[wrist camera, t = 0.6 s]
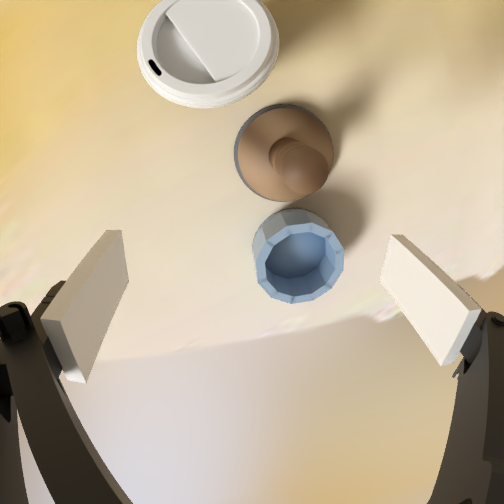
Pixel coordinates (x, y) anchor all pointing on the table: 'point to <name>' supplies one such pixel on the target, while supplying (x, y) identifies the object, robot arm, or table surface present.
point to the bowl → (296, 256)
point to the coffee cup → (207, 50)
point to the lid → (285, 154)
